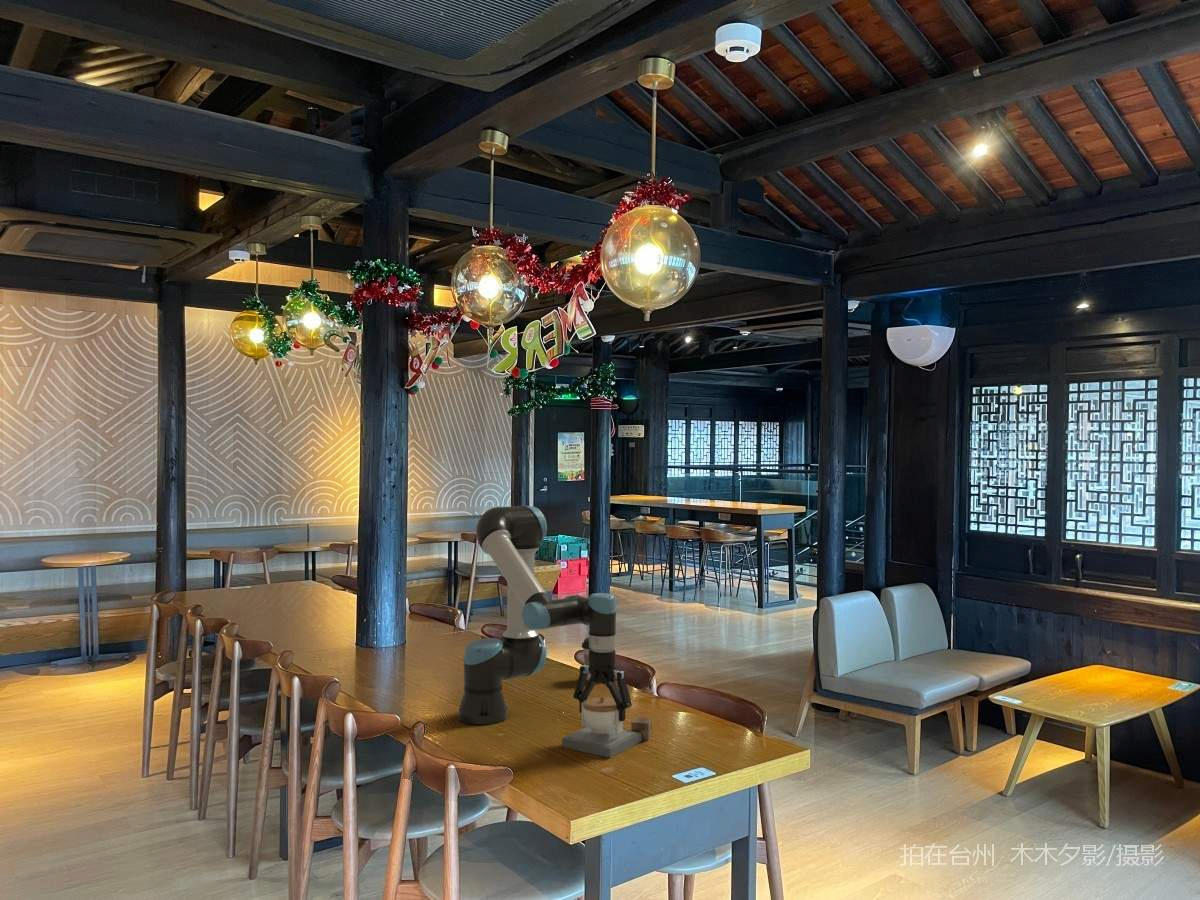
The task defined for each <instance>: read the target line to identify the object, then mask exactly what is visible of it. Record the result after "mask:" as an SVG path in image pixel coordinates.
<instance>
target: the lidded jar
mask: <svg viewBox="0 0 1200 900" xmlns="http://www.w3.org/2000/svg"><path fill="white" fill-rule="evenodd" d="M616 709H618V707H617V705H616V703H615V701H614V699H613V697H605V696H603V695H602V696H598V697H590V698H587V700H585V701H584V702H583V711H584V719H585V722H586V724H587V725H586V727H587V726H588V727H589V728H590V729H591V731H592V732H594V733H598V734H606V733H610V732H612V731H613V729H614V728H615V710H616Z"/></svg>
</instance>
